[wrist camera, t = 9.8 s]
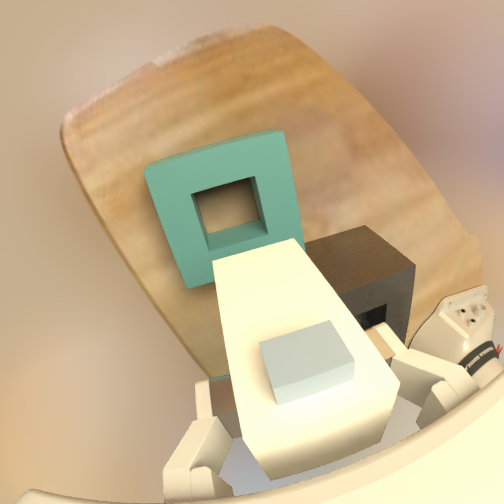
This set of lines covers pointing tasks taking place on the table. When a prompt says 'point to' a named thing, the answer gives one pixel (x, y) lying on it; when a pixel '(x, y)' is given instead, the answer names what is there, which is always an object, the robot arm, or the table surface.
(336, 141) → the table surface
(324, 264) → the dark grey square frame
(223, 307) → the plug
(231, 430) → the robot arm
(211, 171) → the block
